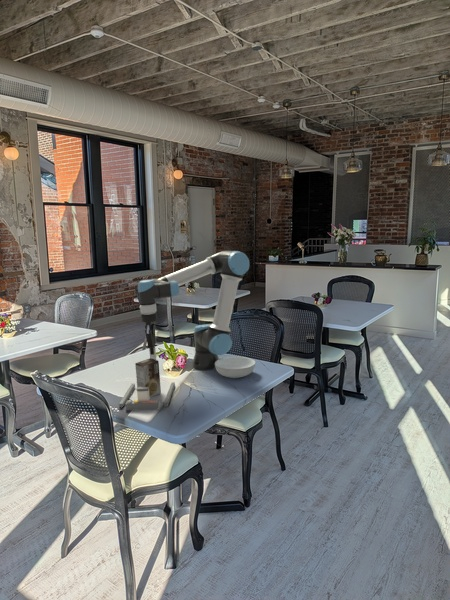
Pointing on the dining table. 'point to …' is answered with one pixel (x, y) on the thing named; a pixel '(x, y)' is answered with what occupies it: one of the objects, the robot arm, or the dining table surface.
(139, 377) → the coffee box
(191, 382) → the dining table surface
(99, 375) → the dining table surface
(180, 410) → the dining table surface
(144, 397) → the switch lever
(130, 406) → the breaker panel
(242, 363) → the serving bowl
